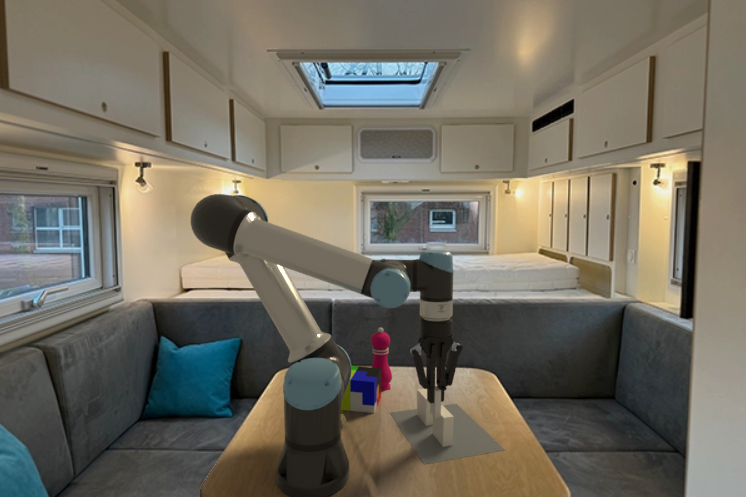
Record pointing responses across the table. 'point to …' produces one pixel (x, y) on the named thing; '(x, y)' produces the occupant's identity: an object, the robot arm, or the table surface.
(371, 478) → the table surface
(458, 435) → the slate board
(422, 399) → the tile
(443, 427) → the tile
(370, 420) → the table surface
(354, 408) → the puzzle toy
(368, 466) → the table surface
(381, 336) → the pepper mill
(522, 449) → the table surface
